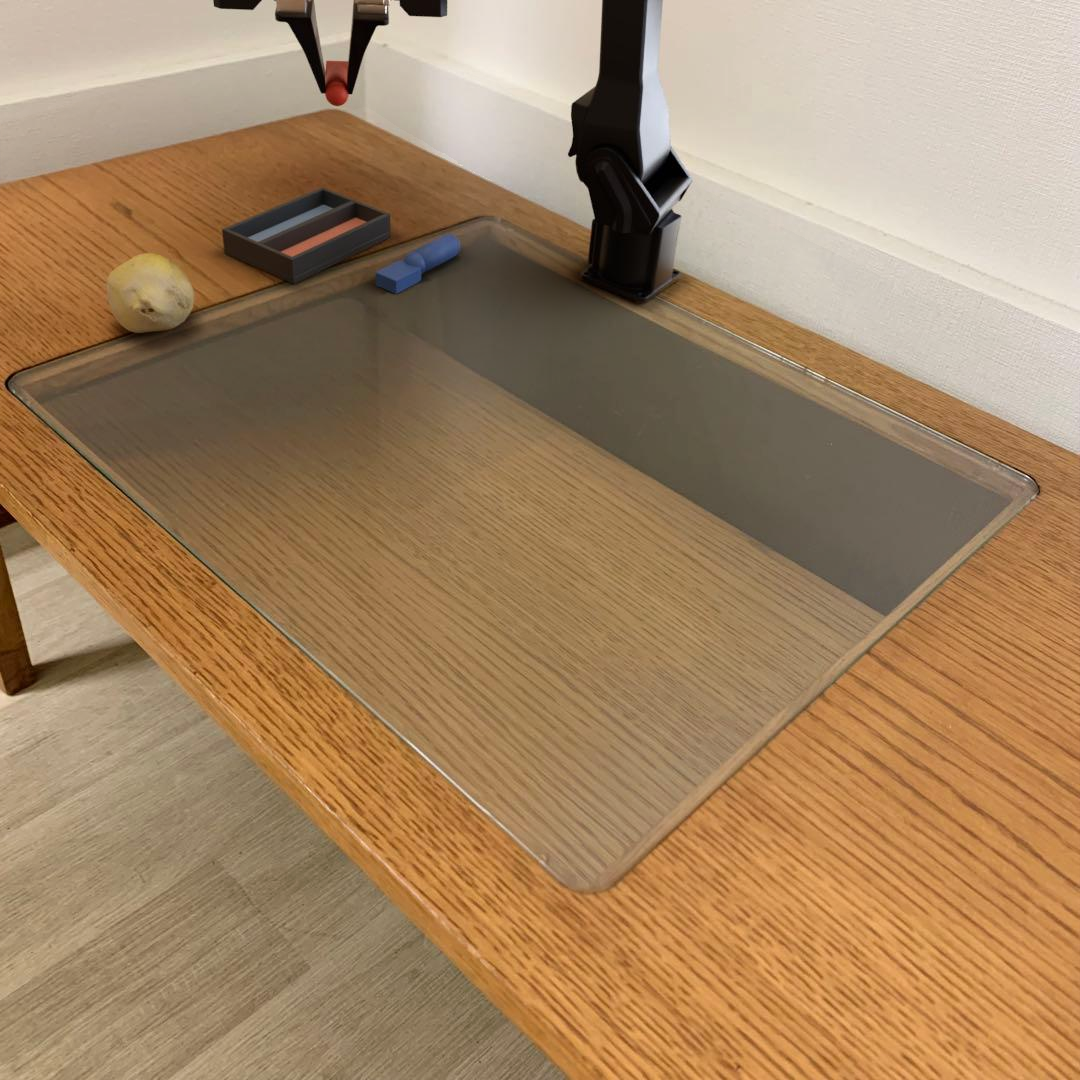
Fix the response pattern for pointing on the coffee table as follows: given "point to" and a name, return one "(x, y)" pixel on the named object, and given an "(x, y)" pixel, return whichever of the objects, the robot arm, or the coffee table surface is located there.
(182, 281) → the fruit
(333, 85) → the red capsule-ended rod
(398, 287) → the blue block-ended handle
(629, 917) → the coffee table surface
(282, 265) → the tray
